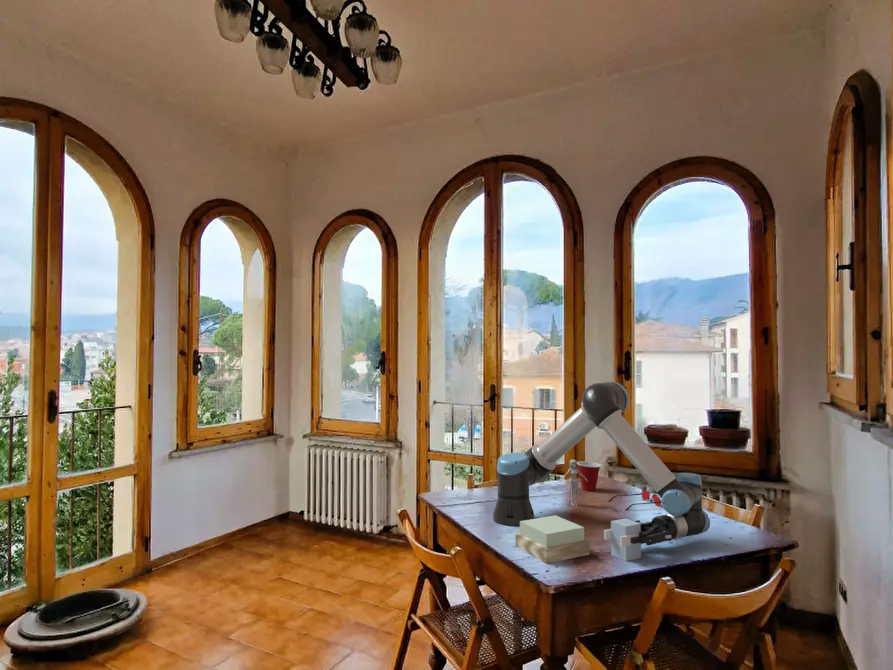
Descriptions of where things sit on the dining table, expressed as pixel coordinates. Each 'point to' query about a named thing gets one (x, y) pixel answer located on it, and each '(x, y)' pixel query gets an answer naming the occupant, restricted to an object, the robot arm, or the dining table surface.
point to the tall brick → (623, 529)
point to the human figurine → (573, 480)
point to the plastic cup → (588, 474)
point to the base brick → (552, 549)
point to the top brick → (551, 531)
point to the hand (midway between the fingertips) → (612, 538)
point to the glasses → (644, 498)
